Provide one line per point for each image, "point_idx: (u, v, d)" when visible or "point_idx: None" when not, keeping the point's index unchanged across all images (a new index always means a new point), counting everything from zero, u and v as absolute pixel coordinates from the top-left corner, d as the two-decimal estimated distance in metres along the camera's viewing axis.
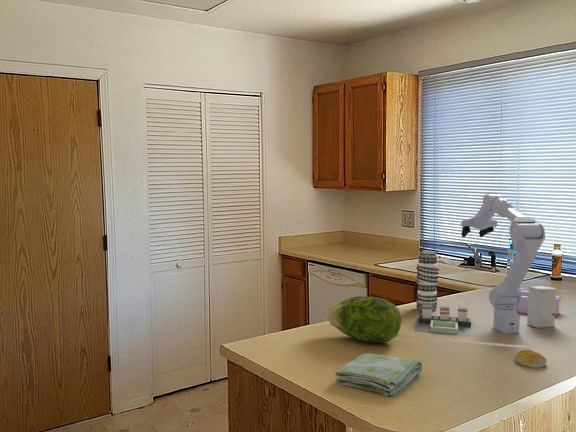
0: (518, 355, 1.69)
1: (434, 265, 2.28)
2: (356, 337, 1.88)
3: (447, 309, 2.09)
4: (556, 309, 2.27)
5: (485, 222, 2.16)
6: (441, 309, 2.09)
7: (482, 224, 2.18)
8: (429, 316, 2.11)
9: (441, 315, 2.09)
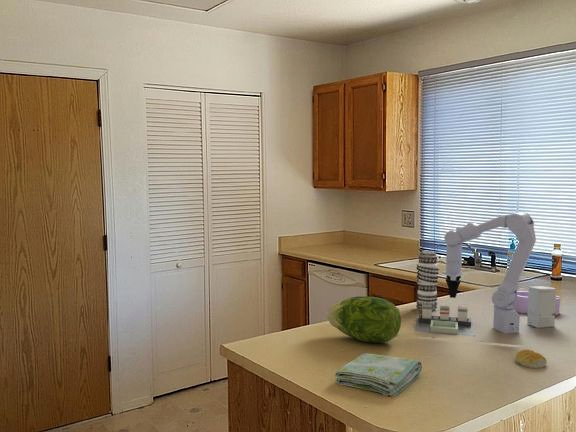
0: (518, 355, 1.69)
1: (434, 265, 2.28)
2: (356, 337, 1.88)
3: (447, 309, 2.09)
4: (556, 309, 2.27)
5: (461, 262, 2.14)
6: (441, 309, 2.09)
7: None
8: (429, 316, 2.11)
9: (441, 315, 2.09)
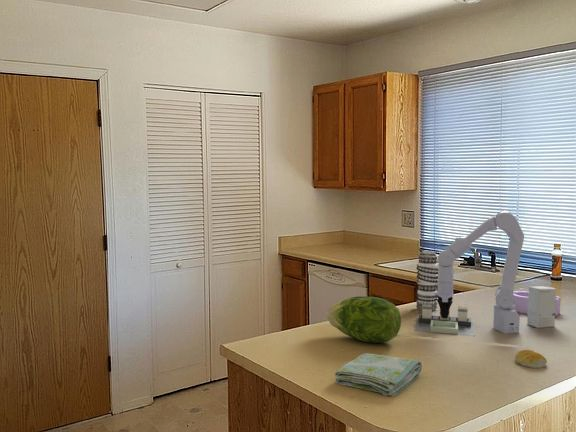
0: (518, 355, 1.69)
1: (434, 265, 2.28)
2: (356, 337, 1.88)
3: None
4: (556, 310, 2.26)
5: None
6: None
7: (452, 287, 2.08)
8: (429, 316, 2.11)
9: None
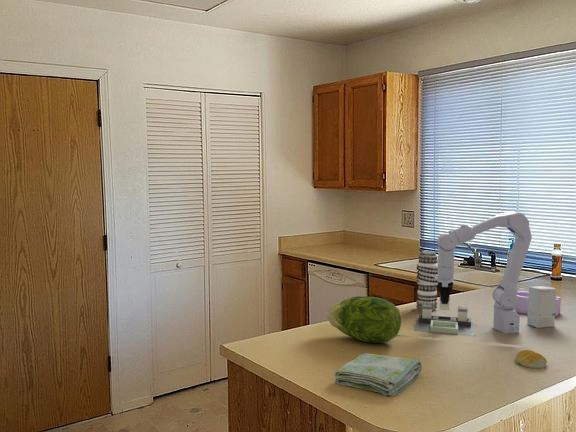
0: (518, 355, 1.69)
1: (434, 265, 2.28)
2: (356, 337, 1.88)
3: None
4: (556, 310, 2.25)
5: (453, 268, 2.03)
6: None
7: (453, 272, 2.02)
8: (429, 316, 2.11)
9: None
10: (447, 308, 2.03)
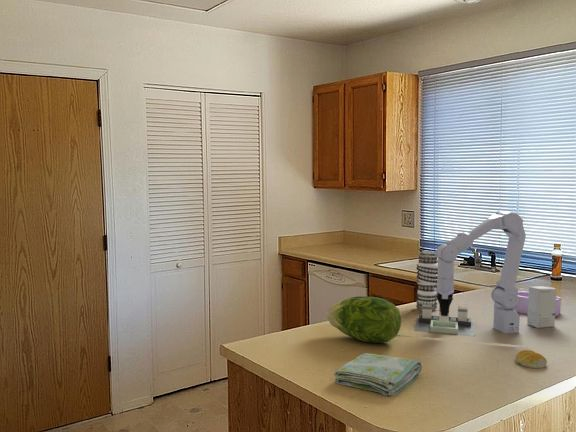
0: (518, 355, 1.69)
1: (434, 265, 2.28)
2: (356, 337, 1.88)
3: None
4: (556, 310, 2.25)
5: (453, 279, 2.00)
6: None
7: (453, 284, 1.99)
8: (429, 316, 2.11)
9: None
10: (447, 320, 2.00)
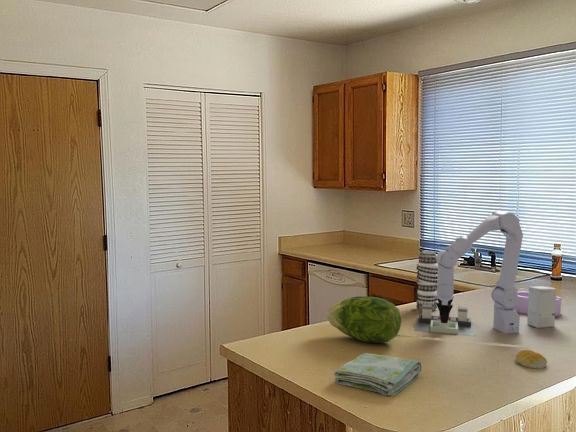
0: (518, 355, 1.69)
1: (434, 265, 2.28)
2: (356, 337, 1.88)
3: None
4: (556, 310, 2.25)
5: (453, 285, 2.00)
6: None
7: None
8: (429, 316, 2.11)
9: (440, 321, 2.01)
10: None
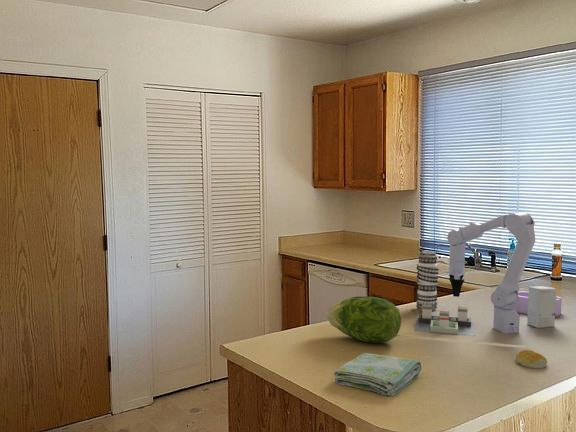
0: (518, 355, 1.69)
1: (434, 265, 2.28)
2: (356, 337, 1.88)
3: (447, 315, 2.00)
4: (557, 310, 2.25)
5: (464, 262, 2.16)
6: (440, 314, 2.01)
7: None
8: (429, 316, 2.11)
9: (440, 321, 2.01)
10: None
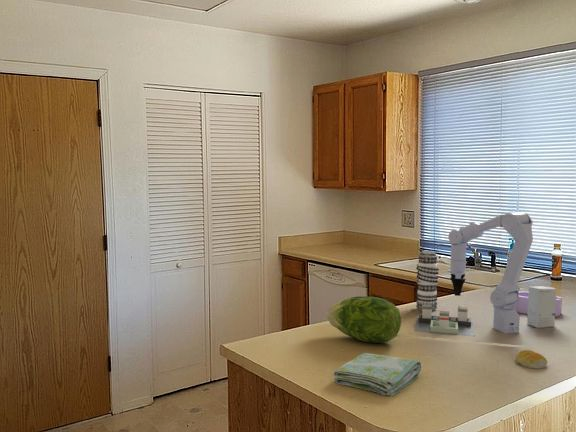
0: (518, 355, 1.69)
1: (434, 265, 2.28)
2: (356, 337, 1.88)
3: (447, 315, 2.00)
4: (557, 310, 2.25)
5: (465, 261, 2.17)
6: (440, 314, 2.01)
7: (465, 265, 2.17)
8: (429, 316, 2.11)
9: (440, 321, 2.01)
10: None
